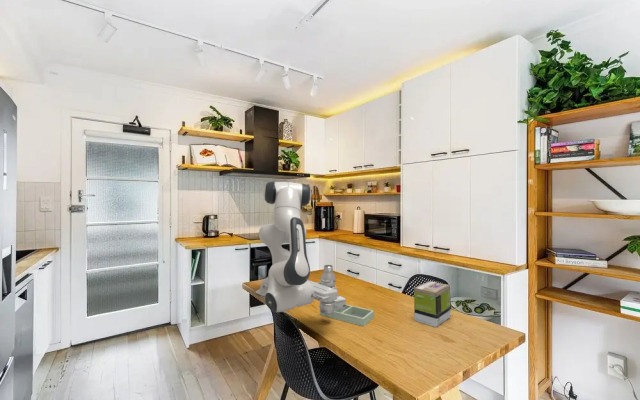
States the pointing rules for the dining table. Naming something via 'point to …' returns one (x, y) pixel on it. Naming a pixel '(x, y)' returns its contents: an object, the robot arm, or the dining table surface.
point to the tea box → (432, 303)
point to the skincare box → (340, 304)
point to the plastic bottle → (329, 281)
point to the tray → (353, 315)
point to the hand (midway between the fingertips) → (329, 286)
